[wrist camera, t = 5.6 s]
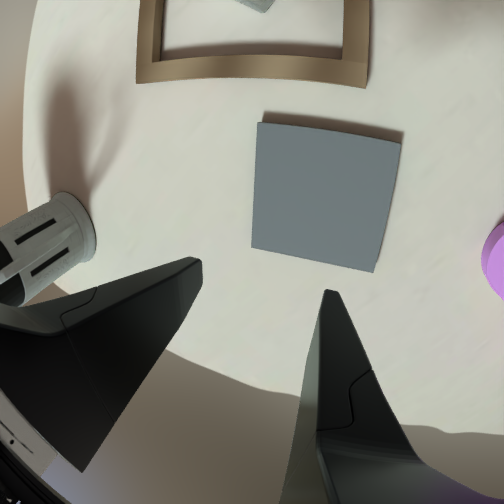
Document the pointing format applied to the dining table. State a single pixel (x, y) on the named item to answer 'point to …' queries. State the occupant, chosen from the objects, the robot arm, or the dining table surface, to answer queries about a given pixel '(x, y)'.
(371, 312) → the dining table surface
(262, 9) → the lighter
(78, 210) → the glass holder
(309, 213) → the mat
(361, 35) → the frame
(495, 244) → the bracket
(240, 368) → the dining table surface
